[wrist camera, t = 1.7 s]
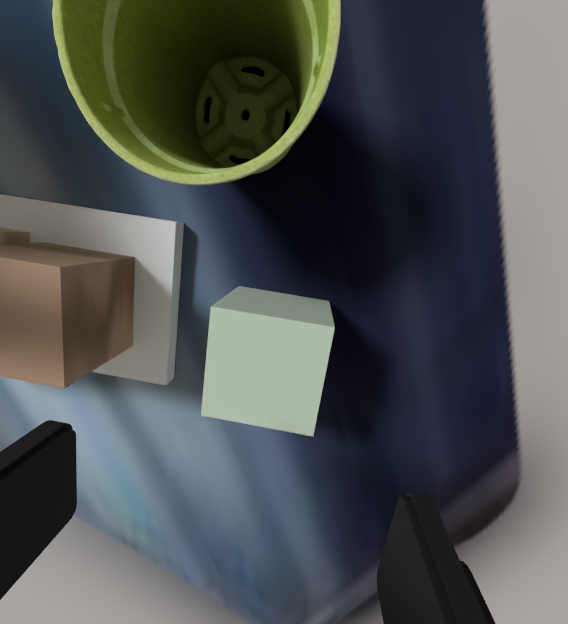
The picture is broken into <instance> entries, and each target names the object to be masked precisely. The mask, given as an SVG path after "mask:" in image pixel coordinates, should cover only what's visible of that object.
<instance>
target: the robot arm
mask: <svg viewBox="0 0 568 624" xmlns="http://www.w3.org/2000/svg"><path fill="white" fill-rule="evenodd" d="M76 506H77V487H76V433H75V431H73V430H72V426H71V425H70V424H67V423H62V422H57V421H52V420H49V421H46V422H44V423H42V424H41V425H39V426H38V427H36V428H35V429H33V430H32V431H30V432H29V433H28V434H26V435H25V436H23V437H22V438H20V439H19V440H17V441H16V442H14V443H13V444H11V445H10V446H8V447H7V448H5V449H4V450H2V451H1V452H0V600H1V598H2V597H3V596H4V595H5V594H6V593H7V591H8V590H9V589H10V588H11V587H12V586H13V585H14V583H15V582H16V581H17V580H18V579H19V578H20V577H21V575H22V574H23V573H24V572H25V571H26V570H27V569H28V567H29V566H30V565H31V564H32V563H33V562H34V561H35V559H36V558H37V557H38V556H39V555H40V554H41V553H42V551H43V550H44V549H45V548H46V547H47V546H48V545H49V543H50V542H51V541H52V540H53V539H54V537H56V535H57V534H58V533H59V532H60V531H61V530H62V529H63V527H64V526H65V525H66V524H67V523H68V522H69V520H70V519H71V518H72V516H73V514H74V512H75V510H76ZM377 588H378V594H379V599H380V605H381V610H382V616H383V622H384V624H495V622H494V620H493V618H492V615H491V613H490V611H489V609H488V607H487V605H486V603H485V600H484V598H483V596H482V594H481V592H480V590H479V588H478V585H477V583H476V581H475V579H474V577H473V575H472V573H471V571H470V570H469V568H468V566H467V565H466V564H465V563H464V562H463V561H460V560H459V558H458V556H457V553H456V551H455V549H454V547H453V544H452V542H451V540H450V538H449V536H448V533H447V531H446V529H445V527H444V524H443V522H442V520H441V518H440V515H439V513H438V511H437V509H436V507H435V504H434V502H433V500H432V498H431V497H429V496H426V495H421V494H416V493H411V492H407V493H406V495H405V497H399V499H398V502H397V505H396V508H395V512H394V515H393V519H392V522H391V526H390V529H389V533H388V536H387V540H386V543H385V547H384V550H383V553H382V557H381V560H380V564H379V567H378V571H377Z"/></svg>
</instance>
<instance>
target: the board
mask: <svg viewBox="0 0 568 624" xmlns="http://www.w3.org/2000/svg"><path fill="white" fill-rule="evenodd" d="M0 227H2V228H8V229H14V230H21V231H27V232H29V233H30V243H40V242H46V243H52V244H58V245H64V246H70V247H76V248H82V249H88V250H95V251H101V252H107V253H113V254H119V255H125V256H131V257H135V278H134V316H133V346H132V347H130V348H129V349H127V350H125V351H124V352H122V353H121V354H119V355H117V356H116V357H114V358H113V359H111V360H109V361H108V362H106V363H104V364H103V365H101V366H100V367H98V368H96V369H95V370H93V371H92V372H95V373H101V374H106V375H112V376H117V377H122V378H128V379H133V380H139V381H144V382H149V383H155V384H160V385H166V386H167V385H168V384H169V383H170V382H171V380H172V379H173V378H174V370H175V354H176V339H177V323H178V308H179V292H180V276H181V261H182V245H183V230H184V223H183V222H176V221H170V220H163V219H157V218H150V217H144V216H138V215H131V214H125V213H118V212H112V211H106V210H99V209H93V208H86V207H80V206H74V205H67V204H61V203H54V202H48V201H41V200H35V199H29V198H22V197H16V196H9V195H3V194H0Z"/></svg>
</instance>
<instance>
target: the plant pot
mask: <svg viewBox="0 0 568 624" xmlns="http://www.w3.org/2000/svg"><path fill="white" fill-rule="evenodd" d="M52 17H53V26H54V36H55V40H56V44H57V48H58V55H59V59H60V63H61V67H62V70H63V73H64V76H65V79H66V81H67V85H68V87H69V89H70V91H71V93H72V95H73V97H74V98H75V100H76V102H77V105H78V107H79V108H80V110H81V112H82V113H83V115H84V117H85V118H86V120H87V122H88V123H89V124H90V126H91V127H92V128H93V130H94V131H95V132H96V134H97V135H98V136H99V137H100V138H101V139H102V140H103V141H104V142H105V143H106V145H107V146H108V147H109V148H110V149H111V150H112V151H114V152H115V153H116V154H117V155H118V156H120V157H121V158H122V159H123V160H125V161H126V162H128V163H129V164H131V165H132V166H134V167H135V168H137V169H139V170H141V171H143V172H145V173H147V174H149V175H151V176H154V177H157V178H159V179H162V180H166V181H170V182H174V183H179V184H185V185H213V184H221V183H227V182H231V181H234V180H238V179H241V178H244V177H246V176H249V175H251V174H257V173H261V172H264V171H266V170H268V169H270V168H271V167H273V166H274V165H276V164H277V163H278V162H279V161H280V160H282V159H283V158H284V156H285V155H286V154H287V153H288V151H289V150H290V148H291V147H292V145H293V144H294V143H295V142H296V140H297V139H298V138H299V137H300V136H301V134H302V133H303V132H304V130H305V129H306V128H307V126H308V125H309V123H310V122H311V120H312V119H313V117H314V115H315V113H316V112H317V110H318V108H319V106H320V104H321V102H322V100H323V98H324V95H325V93H326V90H327V88H328V85H329V82H330V79H331V75H332V72H333V68H334V65H335V60H336V55H337V49H338V42H339V35H340V23H341V2H340V0H53V11H52ZM250 66H252V67H258V68H260V69H262V70H263V71H264V72H265V74H264V76H263V77H260V76H259V75H255V74H252V73H246V72H245V71H244V72H241V70H242V69H243V68H245V67H250ZM209 97H211V99H212V103H211V108H210V114H209V123H208V124H207V123H206V122H205V121H204V113H205V110H204V105H205V101H206V99H207V98H209ZM245 110H247V111H248V112H249V114H250V116H249V119H248V120H243V119H242V118H241V115H242V112H243V111H245ZM286 111H288V112H289V113H290V126H289V129H288V130H287V131H286V133H285V134H284V135H283V136H282V131H283V127H284V121H285V112H286ZM230 156H234V157H237V158H241V159H250V161H248V162H246V163H243V164H235V163H233V162H232V161H230V159H229V157H230Z"/></svg>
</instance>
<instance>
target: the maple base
mask: <svg viewBox="0 0 568 624" xmlns="http://www.w3.org/2000/svg"><path fill="white" fill-rule="evenodd" d="M12 243H30V233H29V232H27V231H21V230H14V229H8V228H2V227H0V244H12Z"/></svg>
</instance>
